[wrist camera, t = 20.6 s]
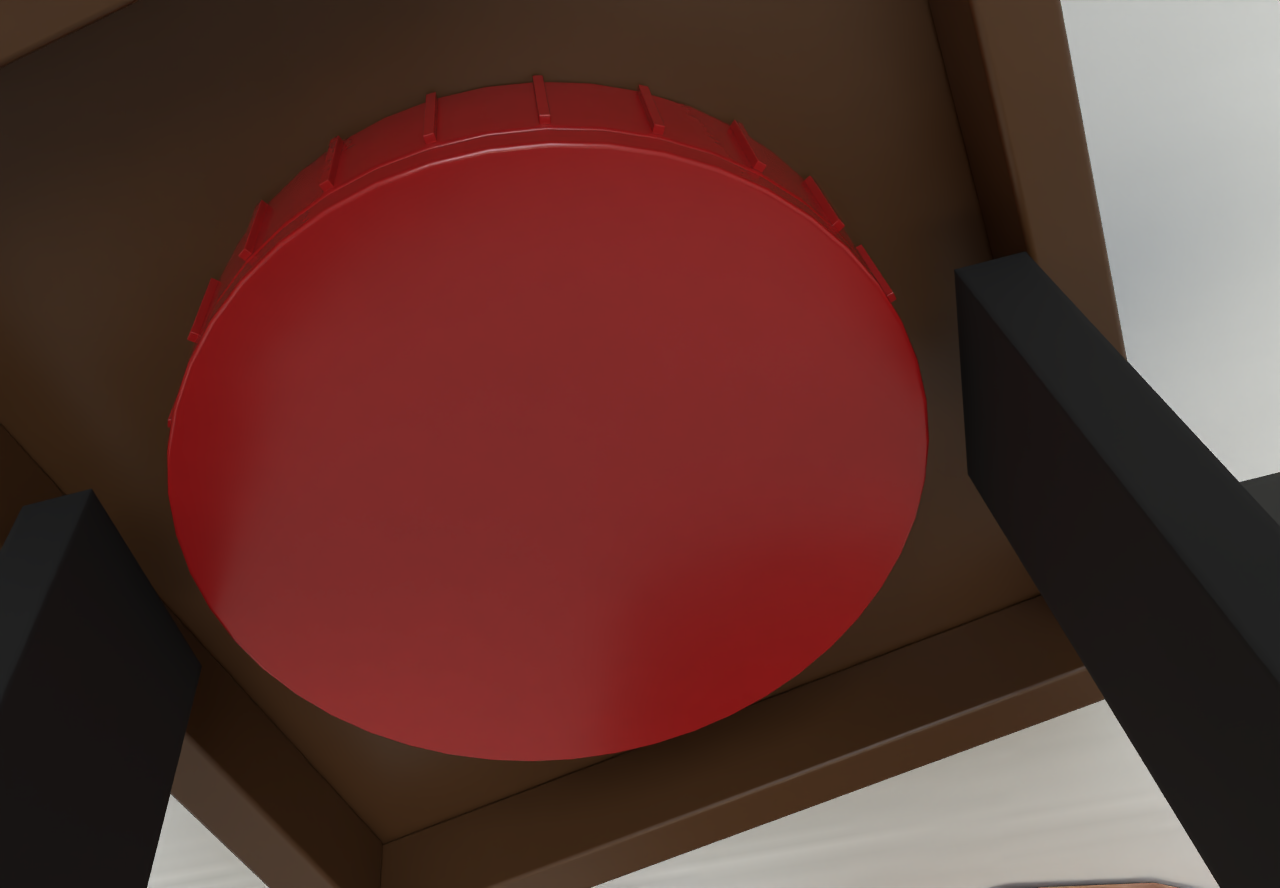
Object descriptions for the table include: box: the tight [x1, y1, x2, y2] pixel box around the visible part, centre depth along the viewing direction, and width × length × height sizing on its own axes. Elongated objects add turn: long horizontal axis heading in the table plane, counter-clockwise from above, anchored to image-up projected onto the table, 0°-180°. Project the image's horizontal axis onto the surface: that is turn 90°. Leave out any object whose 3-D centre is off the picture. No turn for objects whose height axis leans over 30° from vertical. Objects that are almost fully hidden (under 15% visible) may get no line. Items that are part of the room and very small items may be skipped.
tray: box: [0, 0, 1127, 888], centre depth 14 cm, size 14×13×2 cm
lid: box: [167, 75, 929, 761], centre depth 13 cm, size 8×8×2 cm
